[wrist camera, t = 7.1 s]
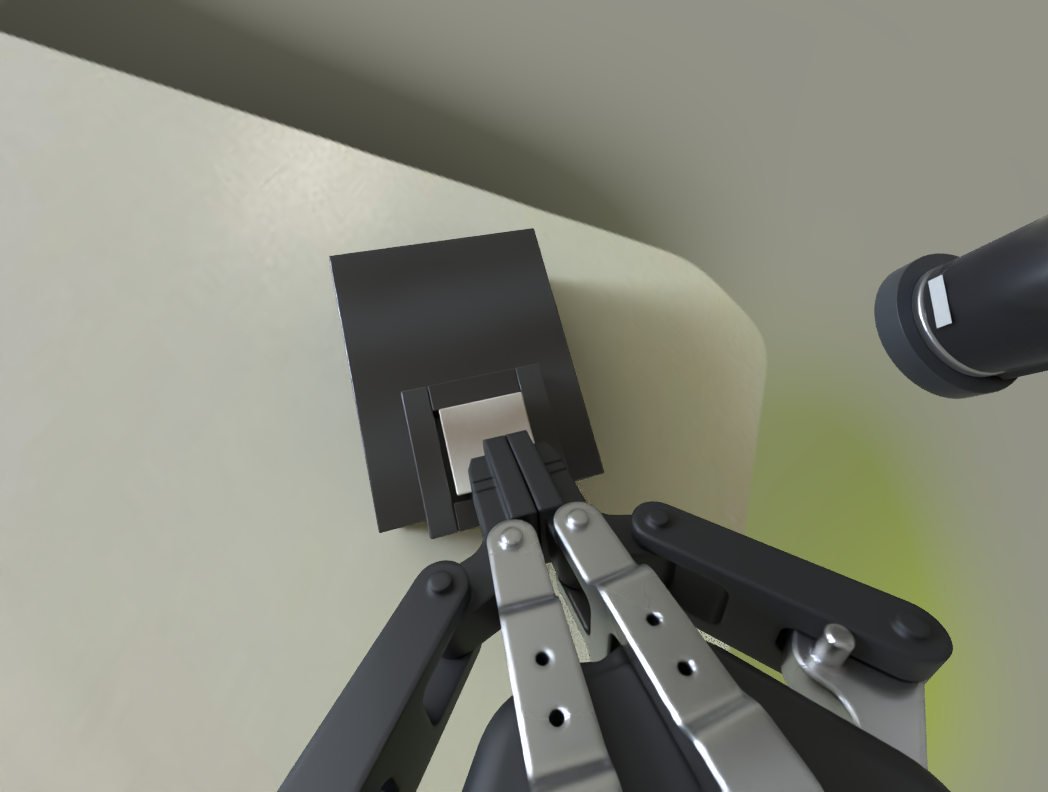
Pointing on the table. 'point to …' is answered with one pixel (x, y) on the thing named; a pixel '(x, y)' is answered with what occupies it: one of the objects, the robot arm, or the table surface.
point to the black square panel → (452, 364)
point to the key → (479, 430)
